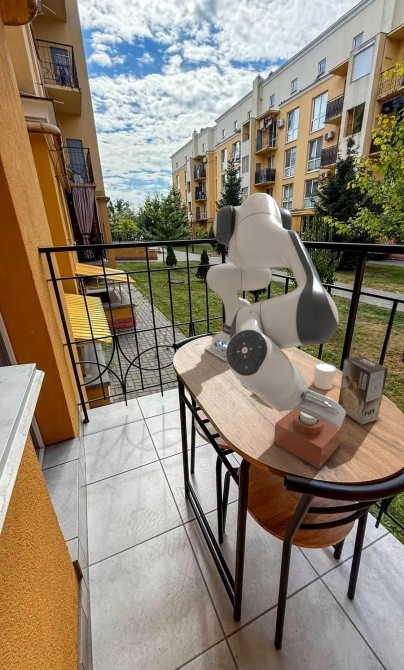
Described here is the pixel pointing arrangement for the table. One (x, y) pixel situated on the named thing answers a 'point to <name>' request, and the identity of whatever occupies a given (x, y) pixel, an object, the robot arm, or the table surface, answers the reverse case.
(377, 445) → the table surface
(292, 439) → the push button box
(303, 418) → the white push button
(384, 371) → the coffee box
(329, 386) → the white cylinder
